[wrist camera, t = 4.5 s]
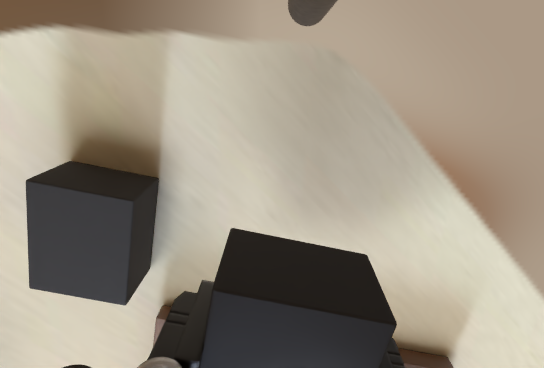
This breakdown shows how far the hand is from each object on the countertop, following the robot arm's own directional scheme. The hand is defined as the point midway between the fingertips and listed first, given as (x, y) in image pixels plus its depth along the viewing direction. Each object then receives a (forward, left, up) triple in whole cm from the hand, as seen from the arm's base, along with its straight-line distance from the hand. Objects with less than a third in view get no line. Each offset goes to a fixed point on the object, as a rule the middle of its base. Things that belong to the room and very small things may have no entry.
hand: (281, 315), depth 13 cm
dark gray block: (+1, -10, -7) cm, 12 cm away
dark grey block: (0, 0, 0) cm, 0 cm away
